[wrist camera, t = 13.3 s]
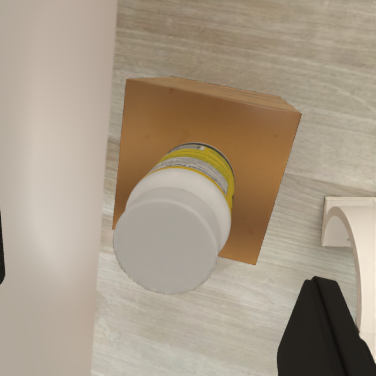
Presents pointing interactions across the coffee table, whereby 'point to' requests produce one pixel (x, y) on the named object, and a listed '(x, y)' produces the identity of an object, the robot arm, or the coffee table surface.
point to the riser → (215, 136)
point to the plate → (370, 342)
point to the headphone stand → (355, 247)
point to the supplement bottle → (177, 220)
